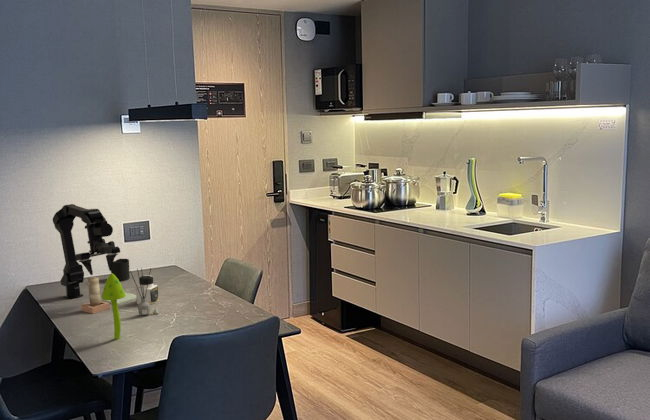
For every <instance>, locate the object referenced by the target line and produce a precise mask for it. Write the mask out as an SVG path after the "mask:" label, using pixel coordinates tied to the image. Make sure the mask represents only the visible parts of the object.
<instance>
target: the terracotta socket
mask: <svg viewBox="0 0 650 420" xmlns="http://www.w3.org/2000/svg"><path fill="white" fill-rule="evenodd" d="M110 304H111V303H108V302H104V301H101V305H98V306H95V307H92V306H90V302H88V303H83V304H81V305H80V307H81V308H80V310H81V312H85V313H89V314H96V313H100V312H104V311H107V310H110V309H111V305H110Z"/></svg>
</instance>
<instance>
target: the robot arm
mask: <svg viewBox="0 0 650 420" xmlns="http://www.w3.org/2000/svg"><path fill="white" fill-rule="evenodd" d="M76 217H77V218H79V219H81V221H82V222H83V223H84V224H86V225H85V226H84V229H85V230H86V231H87V237H88V241H87V244H88V245H89V250H88V252H82V253H81V252H80V253H76V249H75V245H74V239H73V233H72V230H73V228H74V220H75V219H76ZM52 223H53V225H54V228H55V230H57V232H58V233H59V236H60V241H61V245H62V252H63V255H64V261H65V265H64V267H63V269H62V271H63V275H62V276H61V278H60V285H61V286H63V287H65V295H63V298H65V299H69V300H72V299H76V298H80V297H83V296H84V294H83V293H81V288H80V284H83V283H84V277H85V273H84V267H85V269H86V270H87V272H88V273H89V275H90V276H93V273H94V272H93V267H92V258H93V257H98V256H103V255H105V258H106V262H107V267H108V270H109V272H111V271H112V266H113V262H114V261H115V258H116V257H117V256H118V255H119V254H120V253H121V248H120V247H119V246H116V245H115V241H113V240H110V241H108V242H106V239H105V237H107V238H108V237H110V236H111V235H113V231H114V230H113V226H112V225H111V224H110V223H108V220H107V219H106V218H105V216H104V215H103V213H102V212H101V210H100V209H99V208H85V207H82V206H78V205H76V204H73V203H71V204H64V205H62V207H61V208H60V209H59V210H58V211H56V212H55V213H54V215H53V217H52ZM80 263H81V264H80Z"/></svg>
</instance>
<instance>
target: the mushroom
mask: <svg viewBox="0 0 650 420" xmlns="http://www.w3.org/2000/svg"><path fill="white" fill-rule="evenodd" d="M104 283H105V284H104V287H103V290H102V294H101V299H103V300H111V303H110V304H111V307H112V315H113V330H114V336H113V337H114V340H120V337H121V329H122V326H121V323H122V322H121V315H120V310H119V305H117V299H121V298H124V297H125V296H126V295H125V292H126V291H125V290H124V288H123V286H122V282H121V281H119V280H118V278H117V277H116V276H115V275H114V274H113V273H111V272H110V274H109V275H108V276H107V278H106V281H105V282H104Z"/></svg>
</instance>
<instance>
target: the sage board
mask: <svg viewBox="0 0 650 420" xmlns="http://www.w3.org/2000/svg"><path fill="white" fill-rule="evenodd" d="M124 292H125V295H126V296H125V297H124V298H121V299H117V305H118V306H119V305H122V304H126V303H129V302H133V301H137V299H136V293H135V294H134V293H131V292H126V291H124ZM100 299H101V301H103V302H107V303H110V304H112V303H111V300H103V299H102V298H100Z"/></svg>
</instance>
